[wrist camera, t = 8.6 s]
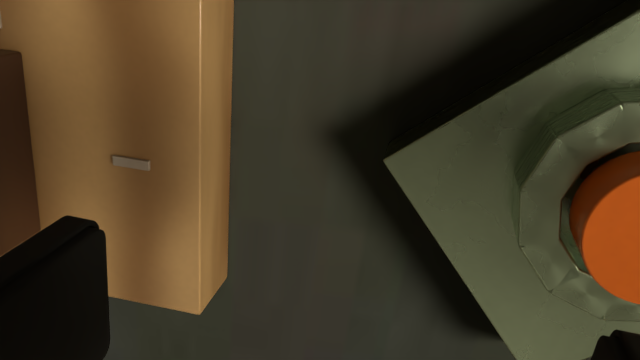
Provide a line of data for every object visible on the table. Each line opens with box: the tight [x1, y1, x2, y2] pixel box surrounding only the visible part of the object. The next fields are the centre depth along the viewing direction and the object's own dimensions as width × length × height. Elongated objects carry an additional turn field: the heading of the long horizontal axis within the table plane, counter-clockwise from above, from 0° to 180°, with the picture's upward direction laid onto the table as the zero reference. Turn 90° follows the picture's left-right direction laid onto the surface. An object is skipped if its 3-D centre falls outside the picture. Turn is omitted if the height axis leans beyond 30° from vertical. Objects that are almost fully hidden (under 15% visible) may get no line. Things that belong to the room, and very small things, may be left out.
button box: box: [383, 0, 640, 360], centre depth 18 cm, size 12×10×4 cm
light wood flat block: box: [0, 0, 234, 315], centre depth 22 cm, size 15×12×3 cm
